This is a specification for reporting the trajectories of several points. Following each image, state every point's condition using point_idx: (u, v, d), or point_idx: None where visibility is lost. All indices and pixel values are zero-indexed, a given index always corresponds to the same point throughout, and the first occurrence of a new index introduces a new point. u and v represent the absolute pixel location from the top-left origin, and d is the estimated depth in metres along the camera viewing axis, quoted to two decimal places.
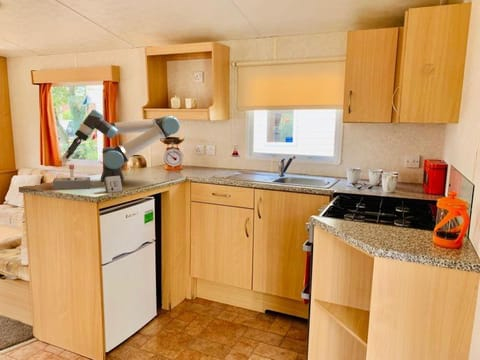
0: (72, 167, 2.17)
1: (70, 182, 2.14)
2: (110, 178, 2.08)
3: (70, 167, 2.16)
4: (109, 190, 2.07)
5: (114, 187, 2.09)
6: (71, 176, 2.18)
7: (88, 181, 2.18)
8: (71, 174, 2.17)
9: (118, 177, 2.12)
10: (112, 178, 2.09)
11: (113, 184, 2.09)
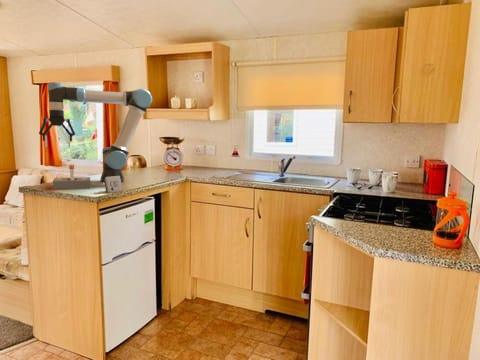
0: (72, 167, 2.17)
1: (70, 182, 2.14)
2: (110, 178, 2.08)
3: (70, 167, 2.16)
4: (109, 190, 2.07)
5: (114, 187, 2.09)
6: (71, 176, 2.18)
7: (88, 181, 2.18)
8: (71, 174, 2.17)
9: (118, 177, 2.12)
10: (112, 178, 2.09)
11: (113, 184, 2.09)
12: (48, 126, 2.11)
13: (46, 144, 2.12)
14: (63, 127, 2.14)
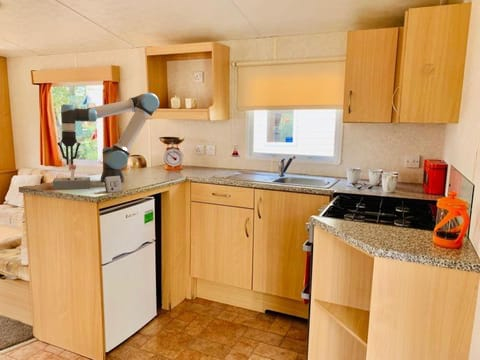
0: (74, 167, 2.17)
1: (70, 182, 2.14)
2: (110, 178, 2.08)
3: (72, 167, 2.17)
4: (109, 190, 2.07)
5: (114, 187, 2.09)
6: (71, 176, 2.18)
7: (88, 181, 2.18)
8: (72, 174, 2.18)
9: (118, 177, 2.12)
10: (112, 178, 2.09)
11: (113, 184, 2.09)
12: None
13: (69, 168, 2.19)
14: (70, 149, 2.17)
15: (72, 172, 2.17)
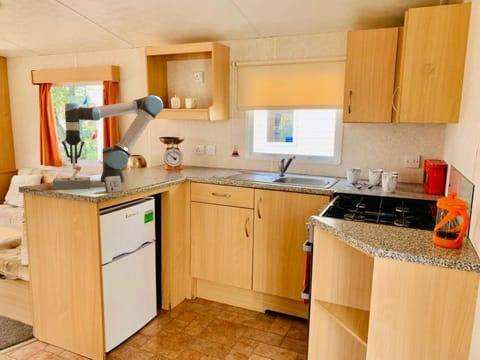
0: (79, 169, 2.18)
1: (70, 182, 2.14)
2: (110, 178, 2.08)
3: (77, 168, 2.18)
4: (109, 190, 2.07)
5: (114, 187, 2.09)
6: (73, 176, 2.18)
7: (88, 181, 2.18)
8: (74, 174, 2.18)
9: (118, 177, 2.12)
10: (112, 178, 2.09)
11: (113, 184, 2.09)
12: (70, 148, 2.17)
13: (74, 166, 2.19)
14: None
15: (75, 173, 2.18)
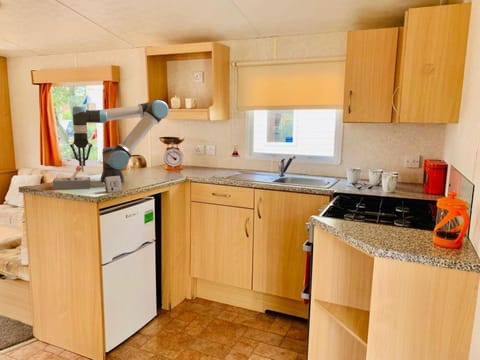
0: (79, 169, 2.18)
1: (70, 182, 2.14)
2: (110, 178, 2.08)
3: (77, 168, 2.18)
4: (109, 190, 2.07)
5: (114, 187, 2.09)
6: (73, 176, 2.18)
7: (88, 181, 2.18)
8: (74, 175, 2.18)
9: (118, 177, 2.12)
10: (112, 178, 2.09)
11: (113, 184, 2.09)
12: (78, 151, 2.19)
13: (82, 169, 2.21)
14: None
15: (75, 173, 2.18)
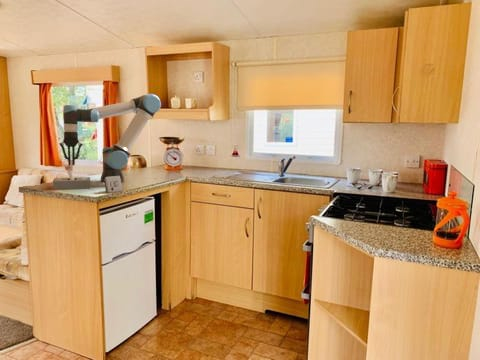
0: (68, 167, 2.16)
1: (70, 182, 2.14)
2: (110, 178, 2.08)
3: (66, 168, 2.15)
4: (109, 190, 2.07)
5: (114, 187, 2.09)
6: (70, 176, 2.17)
7: (88, 181, 2.18)
8: (69, 174, 2.17)
9: (118, 177, 2.12)
10: (112, 178, 2.09)
11: (113, 184, 2.09)
12: None
13: (71, 168, 2.19)
14: (72, 149, 2.18)
15: (69, 172, 2.17)
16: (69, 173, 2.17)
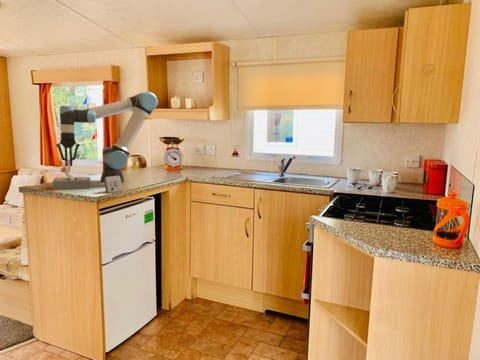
0: (64, 169, 2.15)
1: (70, 182, 2.14)
2: (110, 178, 2.08)
3: (62, 170, 2.15)
4: (109, 190, 2.07)
5: (114, 187, 2.09)
6: (69, 177, 2.17)
7: (88, 181, 2.18)
8: (68, 175, 2.17)
9: (118, 177, 2.12)
10: (112, 178, 2.09)
11: (113, 184, 2.09)
12: None
13: (68, 169, 2.18)
14: (69, 150, 2.17)
15: (66, 174, 2.16)
16: (67, 174, 2.17)
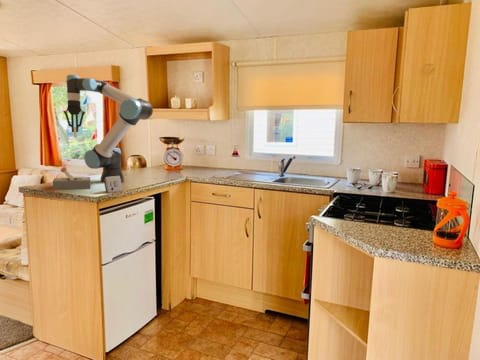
0: (64, 169, 2.15)
1: (70, 182, 2.14)
2: (110, 178, 2.08)
3: (62, 170, 2.15)
4: (109, 190, 2.07)
5: (114, 187, 2.09)
6: (69, 177, 2.17)
7: (88, 181, 2.18)
8: (68, 175, 2.17)
9: (118, 177, 2.12)
10: (112, 178, 2.09)
11: (113, 184, 2.09)
12: (71, 117, 2.32)
13: (75, 135, 2.34)
14: None
15: (66, 174, 2.16)
16: (67, 174, 2.17)
